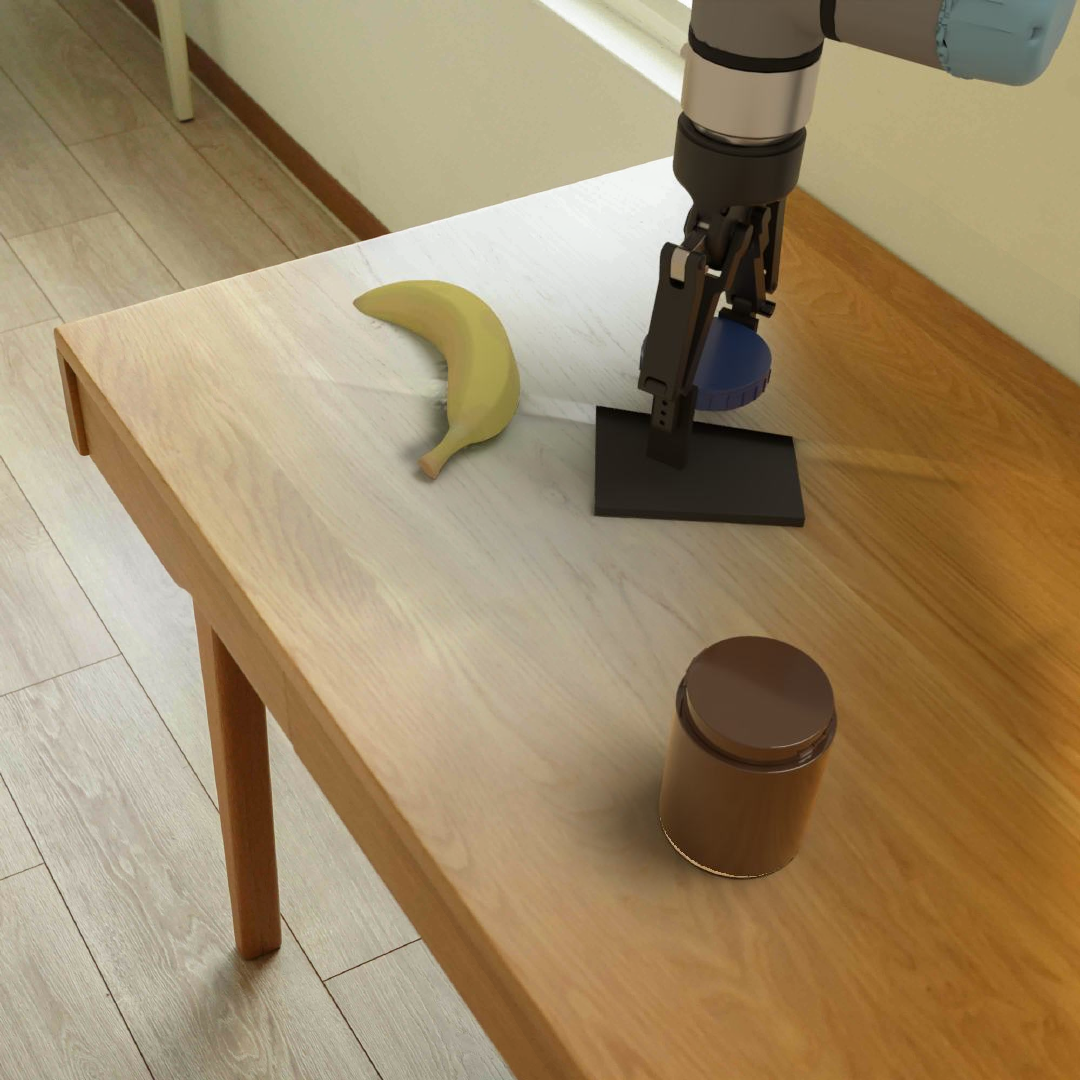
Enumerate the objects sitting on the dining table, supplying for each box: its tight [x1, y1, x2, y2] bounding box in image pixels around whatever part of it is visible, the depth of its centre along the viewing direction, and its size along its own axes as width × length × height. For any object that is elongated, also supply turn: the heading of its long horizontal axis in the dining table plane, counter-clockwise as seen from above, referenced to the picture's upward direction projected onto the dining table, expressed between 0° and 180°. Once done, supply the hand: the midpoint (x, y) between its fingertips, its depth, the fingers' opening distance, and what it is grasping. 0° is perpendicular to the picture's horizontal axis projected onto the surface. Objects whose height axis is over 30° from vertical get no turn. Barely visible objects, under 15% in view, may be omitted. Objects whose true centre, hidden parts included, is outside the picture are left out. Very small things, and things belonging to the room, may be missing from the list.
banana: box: [352, 279, 521, 480], centre depth 98 cm, size 14×6×20 cm
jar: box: [658, 635, 838, 877], centre depth 69 cm, size 8×8×10 cm
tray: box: [593, 404, 806, 527], centre depth 95 cm, size 14×14×1 cm
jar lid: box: [638, 316, 773, 412], centre depth 90 cm, size 9×9×2 cm
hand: (697, 424), depth 93 cm, fingers closed on jar lid, 8 cm apart
